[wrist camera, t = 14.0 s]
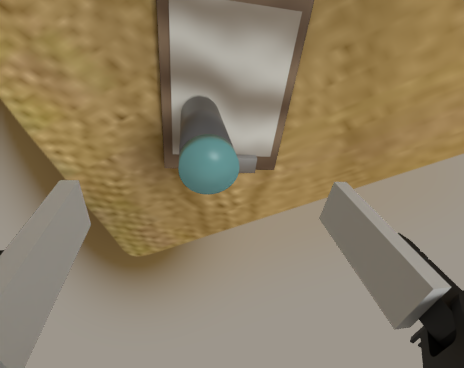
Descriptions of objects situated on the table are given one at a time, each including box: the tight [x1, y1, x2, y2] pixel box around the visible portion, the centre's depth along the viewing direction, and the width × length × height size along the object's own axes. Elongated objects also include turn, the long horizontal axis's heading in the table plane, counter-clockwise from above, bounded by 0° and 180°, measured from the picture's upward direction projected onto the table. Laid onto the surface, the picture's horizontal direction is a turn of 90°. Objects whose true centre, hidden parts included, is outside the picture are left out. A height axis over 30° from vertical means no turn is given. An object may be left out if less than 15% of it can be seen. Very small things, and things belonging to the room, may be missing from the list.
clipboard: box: [157, 0, 314, 173], centre depth 25 cm, size 18×14×2 cm
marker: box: [179, 95, 239, 194], centre depth 21 cm, size 4×4×12 cm
